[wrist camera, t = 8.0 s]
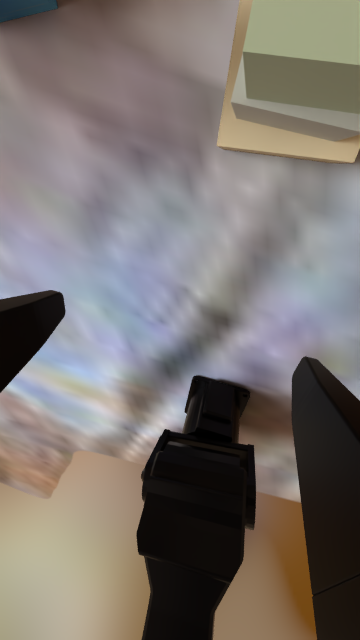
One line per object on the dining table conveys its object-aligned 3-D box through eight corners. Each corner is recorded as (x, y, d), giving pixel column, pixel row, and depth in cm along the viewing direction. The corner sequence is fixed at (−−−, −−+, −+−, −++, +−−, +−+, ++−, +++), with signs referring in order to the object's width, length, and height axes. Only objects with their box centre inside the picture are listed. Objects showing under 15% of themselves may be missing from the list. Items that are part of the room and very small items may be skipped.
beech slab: (332, 163, 16) (353, 162, 12) (223, 149, 17) (216, 145, 13) (398, -9, 12) (454, -76, 9) (251, -14, 13) (251, -75, 10)
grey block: (334, 141, 12) (364, 132, 9) (236, 118, 13) (230, 101, 9) (407, -18, 9) (492, -118, 6) (277, -41, 10) (291, -146, 6)
